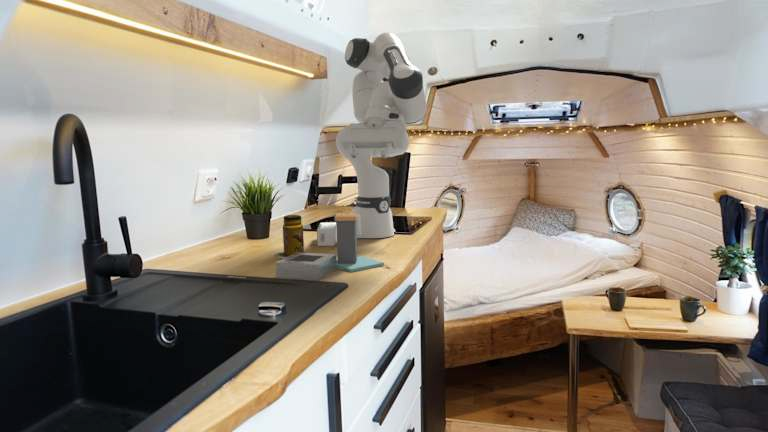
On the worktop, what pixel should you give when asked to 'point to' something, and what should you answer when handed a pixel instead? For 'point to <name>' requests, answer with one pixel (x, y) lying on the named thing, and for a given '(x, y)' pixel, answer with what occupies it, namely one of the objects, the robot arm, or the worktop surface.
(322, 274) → the collar
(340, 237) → the grey lidded canister
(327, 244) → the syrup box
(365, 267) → the mat
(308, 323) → the worktop surface
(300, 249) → the condiment
